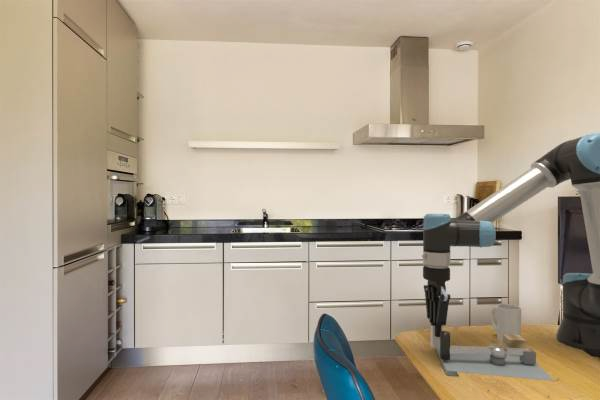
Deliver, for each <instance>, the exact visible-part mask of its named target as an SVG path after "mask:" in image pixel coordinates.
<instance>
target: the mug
mask: <svg viewBox="0 0 600 400" xmlns="http://www.w3.org/2000/svg"><path fill="white" fill-rule="evenodd" d="M495 314H496V321H495ZM489 315H490V316H489V317H490V323H491V326H492V330H493V332H494V331H495V332H496V335H497V337H496V338H497V341H499V342H500V343H503V334H511V335H520V336H521V332H522V331H521V330H522V328H521V327H522V307H520V306H519V305H515V304H511V303H509V304H508V303H498V304H496V305H493V306H492V309H491V311H490V314H489ZM521 337H522V336H521Z"/></svg>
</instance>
